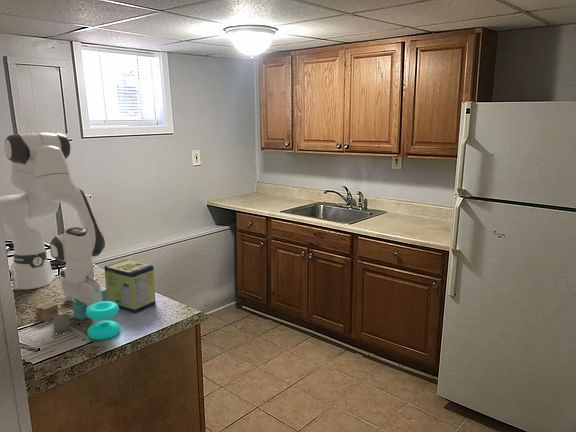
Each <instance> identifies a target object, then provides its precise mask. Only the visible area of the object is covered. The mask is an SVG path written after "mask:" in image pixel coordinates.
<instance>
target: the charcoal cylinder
mask: <svg viewBox="0 0 576 432" xmlns="http://www.w3.org/2000/svg"><path fill="white" fill-rule="evenodd" d="M52 322H53V331H54V332H55V333H57V334H62V335H64V334H63V333H66V334H68V333H67V332H69V331H70V332H71V331H72V327H71V325H72V324H71V316H70V314H68V313H67V314H66V313H62V314H58V315H57V316H55V317H54V318H53V320H52ZM54 332H53V333H54ZM70 332H69V333H70ZM55 333H54V334H55ZM57 334H56V335H57Z"/></svg>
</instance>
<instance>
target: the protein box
mask: <svg viewBox="0 0 576 432" xmlns="http://www.w3.org/2000/svg"><path fill="white" fill-rule="evenodd" d="M104 276H105V277H104V278H105V279H104V280H105V288H106V293H107V301H111V302H114V303H116V304H117V305H118V306H119V310H122V311H125V312H128V313H132V314H137V313H139V312H141V311H143V310H145V309H148V308H150V307H152V306H155V305H156V304H157V302H156V289H155V287H156V286H155V272H154V265H152V264H146V263H141V262H138V261H133V260H130V259H124V260H121V261H119V262H118V261H117V262H115V263H112V264H108V265H104Z"/></svg>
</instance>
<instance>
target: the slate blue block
mask: <svg viewBox="0 0 576 432" xmlns="http://www.w3.org/2000/svg"><path fill="white" fill-rule="evenodd" d="M100 288H101V293H102V302H103V301H107V293H106V287H105V286H101V285H100Z"/></svg>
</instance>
